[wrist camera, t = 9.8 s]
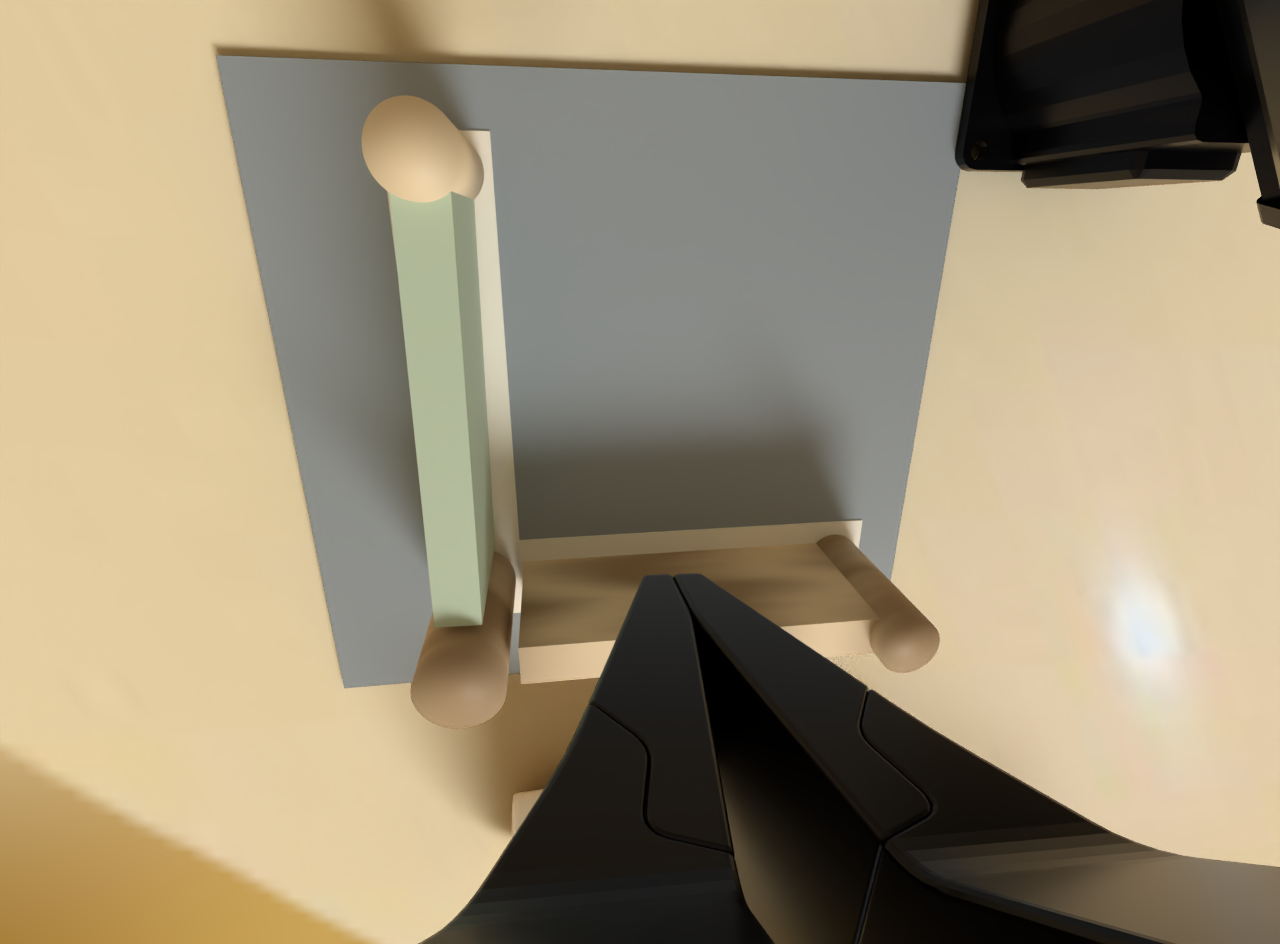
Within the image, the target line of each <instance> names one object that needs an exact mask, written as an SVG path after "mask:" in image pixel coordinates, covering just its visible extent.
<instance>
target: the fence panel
mask: <svg viewBox="0 0 1280 944" xmlns="http://www.w3.org/2000/svg"><path fill="white" fill-rule="evenodd" d="M361 141H362V151H363V156H364V159H365V162H366V165H367V167H368V169H369V171H370V172H371V174H372V176H373V177H374V178H375V180H376V181H377V182H378V183H379V184H380V185H381V186H382V187H383V188H384V189H385V190H387V191H388V192H389V196H390V205H391V215H392V225H393V234H394V244H395V253H396V263H397V273H398V282H399V292H400V301H401V311H402V321H403V330H404V340H405V349H406V359H407V369H408V378H409V388H410V397H411V407H412V417H413V426H414V436H415V445H416V455H417V465H418V474H419V484H420V493H421V503H422V513H423V522H424V532H425V541H426V551H427V561H428V570H429V580H430V589H431V599H432V609H433V618H434V628H436V627H454V626H471V625H482V623H483V617H484V611H485V604H486V598H487V592H488V585H489V579H490V573H491V566H492V560H493V554H494V547H495V537H494V521H493V504H492V487H491V471H490V454H489V438H488V421H487V405H486V388H485V372H484V355H483V339H482V322H481V305H480V289H479V272H478V256H477V239H476V223H475V206H474V199H475V198H476V197H477V196H478V195H479V193H480V191H481V189H482V186H483V182H484V168H483V163H482V160H481V158H480V156H479V154H478V152H477V151H476V149H475V148H474V147H473V146H472V144H471V143H470V142H469V141H468V140H467V139H466V138H465V137H464V136H463V134H462V133H461V132H460V131H459V130H458V129H457V128H456V127H455V126H454V124H453V123H452V122H451V121H450V120H449V119H448V118H447V117H446V116H445V114H444V113H443V112H442V111H441V110H439V109H438V108H437V107H436V106H434V105H433V104H431V103H430V102H428V101H426V100H424V99H421V98H418V97H414V96H408V95H402V96H394V97H391V98H388V99H386V100H384V101H382V102H381V103H379V104H378V105H377V106H376V107H375V108H374V109H373V110H372V111H371V112H370V114H369V115H368V117H367V119H366V121H365V124H364V127H363V131H362V140H361Z"/></svg>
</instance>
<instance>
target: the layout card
mask: <svg viewBox="0 0 1280 944" xmlns="http://www.w3.org/2000/svg"><path fill="white" fill-rule="evenodd" d="M216 58H217V63H218V68H219V73H220V78H221V83H222V88H223V93H224V98H225V103H226V108H227V113H228V118H229V123H230V127H231V132H232V137H233V142H234V147H235V152H236V157H237V162H238V167H239V172H240V177H241V182H242V187H243V191H244V196H245V201H246V206H247V211H248V216H249V221H250V226H251V231H252V236H253V241H254V246H255V251H256V256H257V260H258V265H259V270H260V275H261V280H262V285H263V290H264V295H265V300H266V305H267V310H268V315H269V320H270V325H271V329H272V334H273V339H274V344H275V349H276V354H277V359H278V364H279V369H280V374H281V379H282V384H283V389H284V393H285V398H286V403H287V408H288V413H289V418H290V423H291V428H292V433H293V438H294V443H295V448H296V453H297V458H298V462H299V467H300V472H301V477H302V482H303V487H304V492H305V497H306V502H307V507H308V512H309V517H310V522H311V527H312V531H313V536H314V541H315V546H316V551H317V556H318V561H319V566H320V571H321V576H322V581H323V586H324V591H325V595H326V600H327V605H328V610H329V615H330V620H331V625H332V630H333V635H334V640H335V645H336V650H337V655H338V660H339V664H340V669H341V674H342V679H343V684H344V688H353V687H365V686H377V685H388V684H400V683H412V680H413V677H414V674H415V670H416V667H417V663H418V660H419V657H420V653H421V650H422V646H423V643H424V639H425V636H426V633H427V629H428V626H429V622H430V619H431V616H432V612H433V609H432V599H431V589H430V580H429V570H428V561H427V551H426V541H425V532H424V522H423V513H422V503H421V493H420V484H419V474H418V465H417V455H416V445H415V436H414V426H413V417H412V407H411V397H410V388H409V378H408V369H407V359H406V349H405V340H404V330H403V321H402V311H401V301H400V292H399V282H398V273H397V263H396V253H395V244H394V234H393V225H392V215H391V205H390V196H389V192H388V191H387V190H385V189H384V188H383V187H382V186H381V185H380V184H379V183H378V182H377V181H376V180H375V178H374V177H373V176H372V174H371V172H370V171H369V169H368V167H367V165H366V162H365V159H364V156H363V151H362V141H361V140H362V131H363V127H364V124H365V121H366V119H367V117H368V115H369V114H370V112H371V111H372V110H373V109H374V108H375V107H376V106H377V105H378V104H379V103H381V102H382V101H384V100H386V99H388V98H391V97H394V96H402V95H408V96H414V97H418V98H421V99H424V100H426V101H428V102H430V103H431V104H433V105H434V106H436V107H437V108H438V109H439V110H441V111H442V112H443V113H444V114H445V116H446V117H447V118H448V119H449V120H450V121H451V122H452V123H453V124H454V126H455V127H456V128H457V129H458V130H459V131H460V132H461V133H462V134H463V136H464V137H465V138H466V139H467V140H468V141H469V142H470V143H471V144H472V146H473V147H474V148H475V149H476V151H477V152H478V154H479V156H480V158H481V160H482V163H483V168H484V182H483V186H482V189H481V191H480V193H479V195H478V196H477V197H476V198H475V199H474V206H475V223H476V239H477V256H478V272H479V289H480V305H481V322H482V339H483V355H484V372H485V388H486V405H487V421H488V438H489V454H490V471H491V487H492V504H493V521H494V537H495V547H494V551H495V552H497V553H499V554H501V555H502V556H504V557H505V558H506V559H507V560H508V561H509V562H510V563H511V565H512V566H513V568H514V571H515V574H516V588H515V600H514V612H513V625H512V637H511V649H510V661H509V673H508V674H516V673H520V663H519V650H518V646H519V630H520V614H521V599H522V583H523V568H524V562H526V561H542V560H558V559H573V558H589V557H605V556H621V555H636V554H652V553H668V552H684V551H699V550H715V549H731V548H747V547H763V546H778V545H794V544H810V543H816V542H818V541H819V540H820V539H822V538H824V537H826V536H829V535H843V536H845V537H847V538H849V539H850V540H851V541H852V542H853V543H854V544H855V545H856V546H857V547H858V548H859V549H860V550H861V552H862V553H863V554H864V555H865V556H866V557H867V558H868V559H869V560H870V561H871V562H872V563H873V564H874V565H875V566H876V567H877V568H878V569H879V570H880V571H881V572H882V573H883V574H884V575H885V576H886V577H887V578H888V579H889V580H891V575H892V569H893V563H894V557H895V551H896V545H897V539H898V533H899V527H900V521H901V515H902V509H903V503H904V498H905V492H906V486H907V480H908V474H909V468H910V462H911V456H912V450H913V444H914V438H915V432H916V427H917V421H918V415H919V409H920V403H921V397H922V391H923V385H924V379H925V373H926V367H927V361H928V356H929V350H930V344H931V338H932V332H933V326H934V320H935V314H936V308H937V302H938V296H939V290H940V285H941V279H942V273H943V267H944V261H945V255H946V249H947V243H948V237H949V231H950V225H951V219H952V214H953V208H954V202H955V196H956V190H957V184H958V178H959V172H960V167H959V166H957V163H956V161H955V149H956V143H957V137H958V131H959V125H960V119H961V113H962V107H963V100H964V94H965V88H966V83H948V82H921V81H894V80H867V79H840V78H813V77H786V76H759V75H732V74H706V73H679V72H652V71H625V70H598V69H571V68H544V67H517V66H490V65H463V64H436V63H409V62H382V61H355V60H328V59H301V58H274V57H248V56H221V55H216Z"/></svg>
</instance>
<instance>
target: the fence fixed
mask: <svg viewBox="0 0 1280 944" xmlns="http://www.w3.org/2000/svg"><path fill="white" fill-rule="evenodd" d="M688 573H699V574H702V575H704V576H705V577H707V578H708V579H710V580H711V581H713V582H714V583H716V584H717V585H719V586H720V587H722V588H723V589H724V590H726V591H727V592H729V593H730V594H732V595H733V596H735V597H736V598H738V599H739V600H741V601H742V602H744V603H745V604H747V605H748V606H750V607H751V608H753V609H754V610H756V611H757V612H758V613H760V614H761V615H763V616H764V617H766V618H767V619H769V620H770V621H772V622H773V623H775V624H776V625H778V626H779V627H781V628H782V629H784V630H785V631H787V632H788V633H790V634H791V635H792V636H794V637H795V638H797V639H798V640H800V641H801V642H803V643H804V644H806V645H807V646H809V647H810V648H812V649H813V650H815V651H816V652H818V653H819V654H821V655H822V656H824V657H825V658H826V657H837V656H849V655H860V654H871V653H875V654H876V656H877V657H878V658H879V660H880V661H881V662H882V663H883V665H884V666H885V667H886V668H887V669H889V670H891V671H893V672H898V673H906V672H911V671H914V670H917V669H919V668H921V667H922V666H924V665H925V664H927V663H928V662H929V661H930V660H931V659H932V658H933V656H934V655H935V653H936V651H937V649H938V646H939V641H940V638H939V633H938V631H937V629H936V628H935V627H934V625H933V624H932V623H931V622H930V621H929V620H928V619H927V618H926V617H925V616H924V615H923V614H922V613H921V612H920V611H919V610H918V609H917V608H916V607H915V606H914V605H913V604H912V603H911V602H910V601H909V600H908V599H907V598H906V597H905V596H904V595H903V594H902V593H901V592H900V591H899V590H898V588H897V587H896V586H895V585H894V584H893V583H892V582H891V581H890V580H889V579H888V578H887V577H886V576H885V575H884V574H883V573H882V572H881V571H880V570H879V569H878V568H877V567H876V566H875V565H874V564H873V563H872V562H871V561H870V560H869V559H868V558H867V557H866V556H865V555H864V554H863V553H862V552H861V550H860V549H859V548H858V547H857V546H856V545H855V544H854V543H853V542H852V541H851V540H850V539H849V538H847V537H845V536H843V535H829V536H826V537H824V538H822V539H820V540H819V541H818V542H816V543H810V544H794V545H778V546H763V547H747V548H731V549H715V550H699V551H684V552H668V553H652V554H636V555H621V556H605V557H589V558H573V559H558V560H542V561H526V562H524V568H523V583H522V599H521V614H520V630H519V646H518V650H519V663H520V676H521V684H532V683H543V682H554V681H565V680H577V679H588V678H599V677H600V676H601V673H602V671H603V669H604V666H605V664H606V662H607V659H608V657H609V655H610V652H611V650H612V648H613V645H614V643H615V641H616V638H617V636H618V634H619V631H620V629H621V627H622V624H623V622H624V620H625V618H626V615H627V613H628V611H629V608H630V606H631V604H632V601H633V599H634V597H635V594H636V592H637V590H638V587H639V585H640V583H641V580H642V578H643V577H644V576H645V575H654V574H669V575H671V576H672V577H673V576H674V575H676V574H688ZM515 588H516V574H515V571H514V568H513V566H512V565H511V563H510V562H509V561H508V560H507V559H506V558H505V557H504V556H502V555H501V554H499V553H497V552H495V551H494V554H493V560H492V566H491V573H490V579H489V585H488V592H487V598H486V604H485V611H484V617H483V623H482V625H471V626H454V627H436V628H434V618H433V612H432V616H431V619H430V622H429V626H428V629H427V633H426V636H425V639H424V643H423V646H422V650H421V653H420V657H419V660H418V663H417V667H416V670H415V674H414V677H413V680H412V684H411V698H412V702H413V704H414V706H415V708H416V709H417V711H418V712H419V713H420V714H421V715H422V716H423V717H424V718H426V719H427V720H429V721H430V722H432V723H434V724H437V725H439V726H443V727H447V728H469V727H473V726H477V725H479V724H482V723H484V722H486V721H488V720H489V719H491V718H492V717H493V716H494V715H496V714H497V713H498V711H499V710H500V709H501V707H502V706H503V704H504V702H505V699H506V695H507V685H508V673H509V661H510V649H511V637H512V625H513V612H514V600H515Z"/></svg>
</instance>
